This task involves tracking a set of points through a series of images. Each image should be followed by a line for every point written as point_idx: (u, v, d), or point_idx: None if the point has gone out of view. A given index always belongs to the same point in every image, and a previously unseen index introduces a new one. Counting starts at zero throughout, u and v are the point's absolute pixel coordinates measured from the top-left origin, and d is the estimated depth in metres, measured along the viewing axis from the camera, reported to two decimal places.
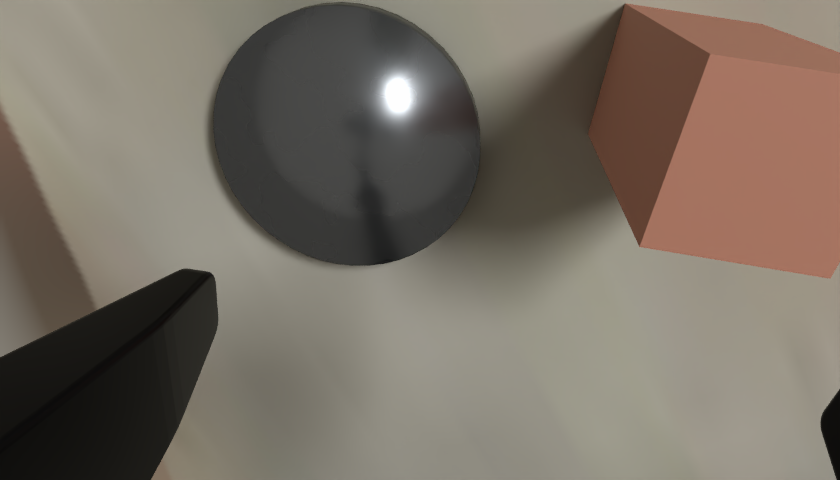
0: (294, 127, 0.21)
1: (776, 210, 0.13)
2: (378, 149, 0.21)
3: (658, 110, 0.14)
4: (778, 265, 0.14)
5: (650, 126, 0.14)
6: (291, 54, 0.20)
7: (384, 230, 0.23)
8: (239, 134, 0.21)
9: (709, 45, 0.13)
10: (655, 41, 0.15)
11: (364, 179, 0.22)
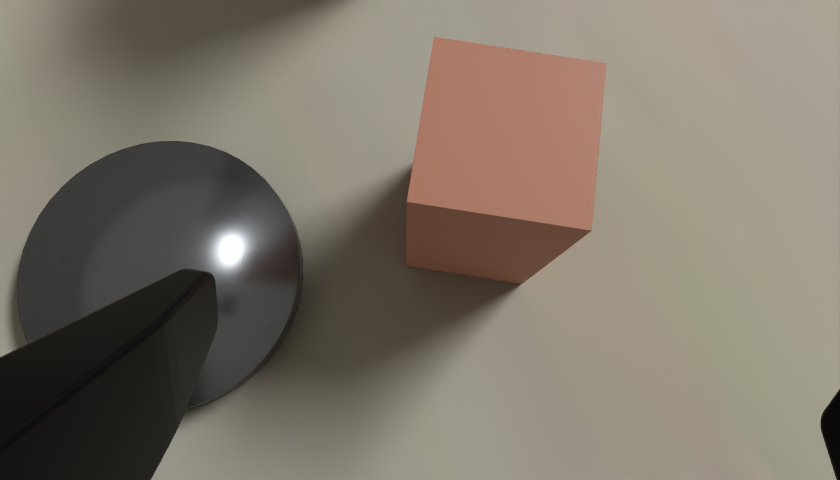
0: (111, 247, 0.21)
1: (521, 161, 0.14)
2: (195, 269, 0.21)
3: None
4: (541, 217, 0.14)
5: None
6: (126, 179, 0.22)
7: None
8: (49, 254, 0.21)
9: None
10: None
11: None
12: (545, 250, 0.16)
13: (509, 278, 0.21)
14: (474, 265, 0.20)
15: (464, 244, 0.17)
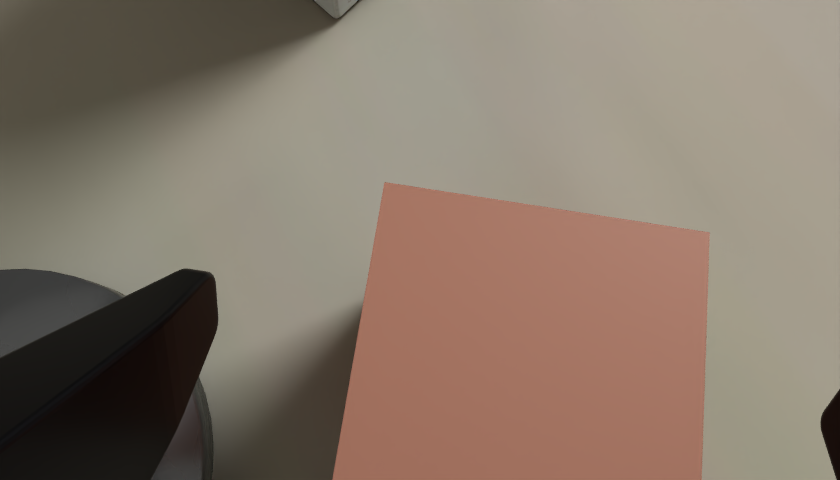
0: None
1: (552, 442, 0.07)
2: None
3: None
4: None
5: None
6: None
7: None
8: None
9: None
10: None
11: None
12: None
13: None
14: None
15: None
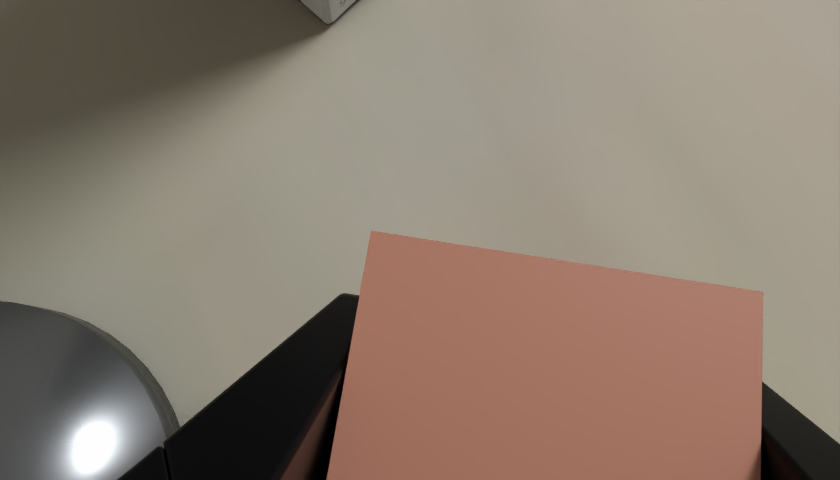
0: None
1: None
2: None
3: None
4: None
5: None
6: None
7: None
8: None
9: None
10: None
11: None
12: None
13: None
14: None
15: None
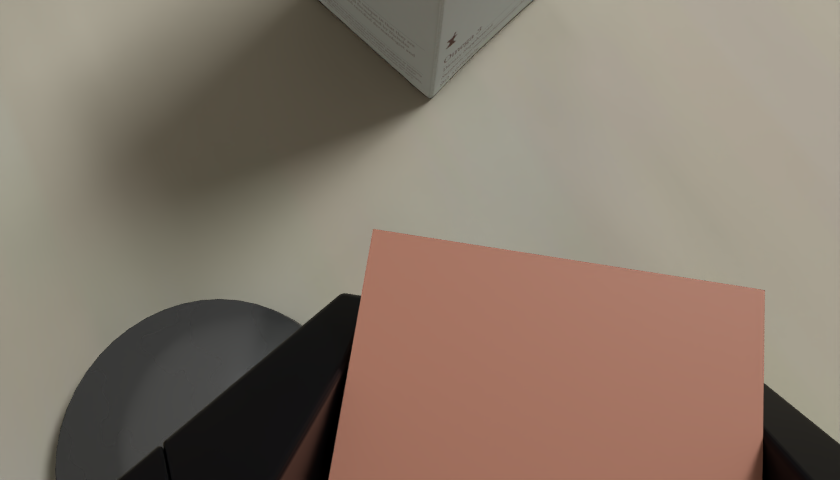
0: (155, 423, 0.19)
1: None
2: None
3: None
4: None
5: None
6: (168, 344, 0.20)
7: None
8: (89, 434, 0.19)
9: None
10: None
11: None
12: None
13: None
14: None
15: None
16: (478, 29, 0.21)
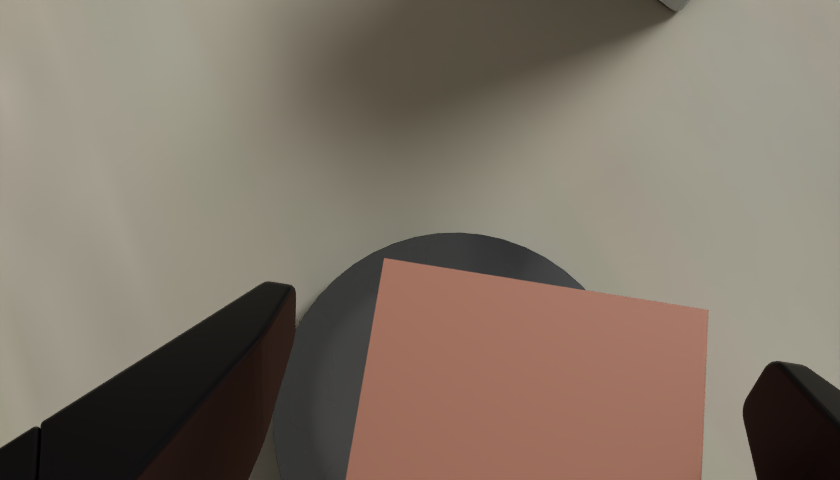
0: None
1: None
2: None
3: None
4: None
5: None
6: None
7: None
8: (312, 390, 0.16)
9: None
10: None
11: None
12: None
13: None
14: None
15: None
16: None
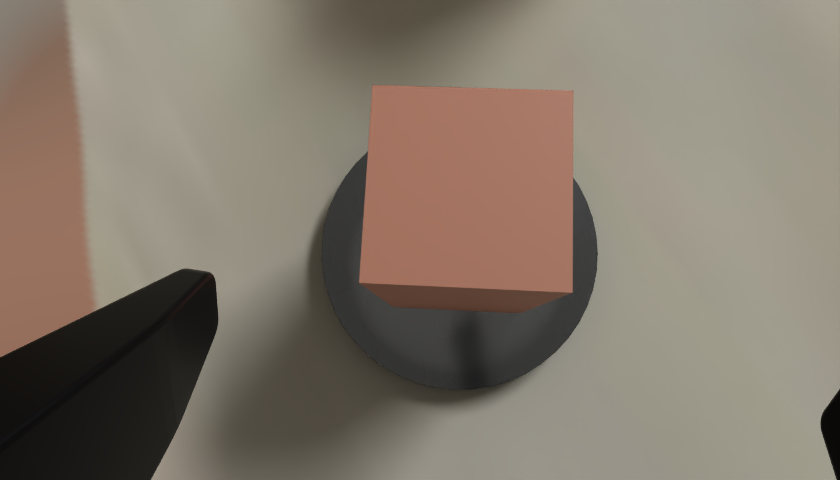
0: None
1: (484, 220, 0.12)
2: None
3: None
4: (513, 284, 0.12)
5: None
6: None
7: (506, 336, 0.20)
8: (348, 245, 0.21)
9: None
10: None
11: None
12: (530, 300, 0.15)
13: (504, 311, 0.20)
14: (462, 306, 0.18)
15: (442, 298, 0.16)
16: None
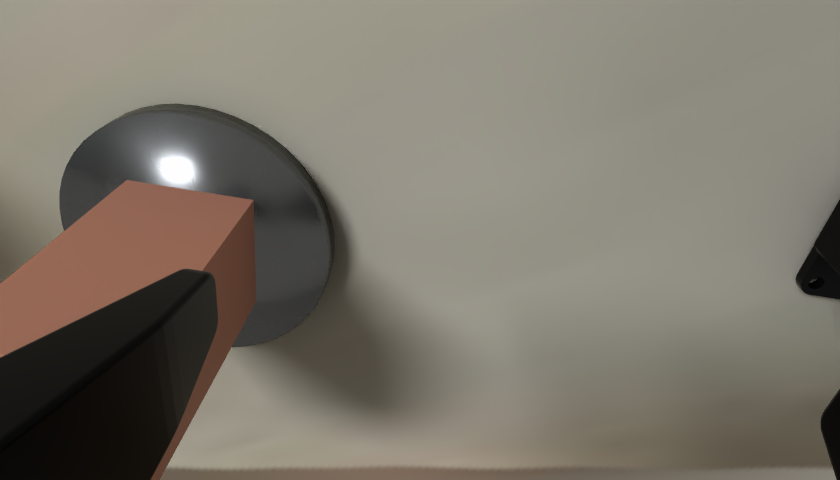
0: None
1: None
2: None
3: None
4: None
5: None
6: None
7: (277, 214, 0.20)
8: None
9: None
10: None
11: None
12: None
13: (246, 226, 0.20)
14: (233, 283, 0.19)
15: None
16: None
